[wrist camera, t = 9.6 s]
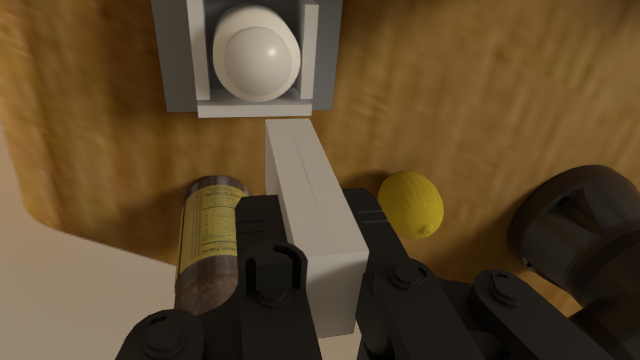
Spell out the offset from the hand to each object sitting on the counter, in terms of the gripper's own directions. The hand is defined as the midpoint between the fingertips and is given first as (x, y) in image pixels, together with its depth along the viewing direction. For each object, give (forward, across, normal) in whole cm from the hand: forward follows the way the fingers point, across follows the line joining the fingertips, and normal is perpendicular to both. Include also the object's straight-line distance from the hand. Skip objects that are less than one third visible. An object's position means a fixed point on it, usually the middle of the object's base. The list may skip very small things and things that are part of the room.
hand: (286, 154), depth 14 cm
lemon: (+19, -14, +14) cm, 27 cm away
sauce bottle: (+18, +3, +15) cm, 24 cm away
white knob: (+15, 0, 0) cm, 15 cm away
